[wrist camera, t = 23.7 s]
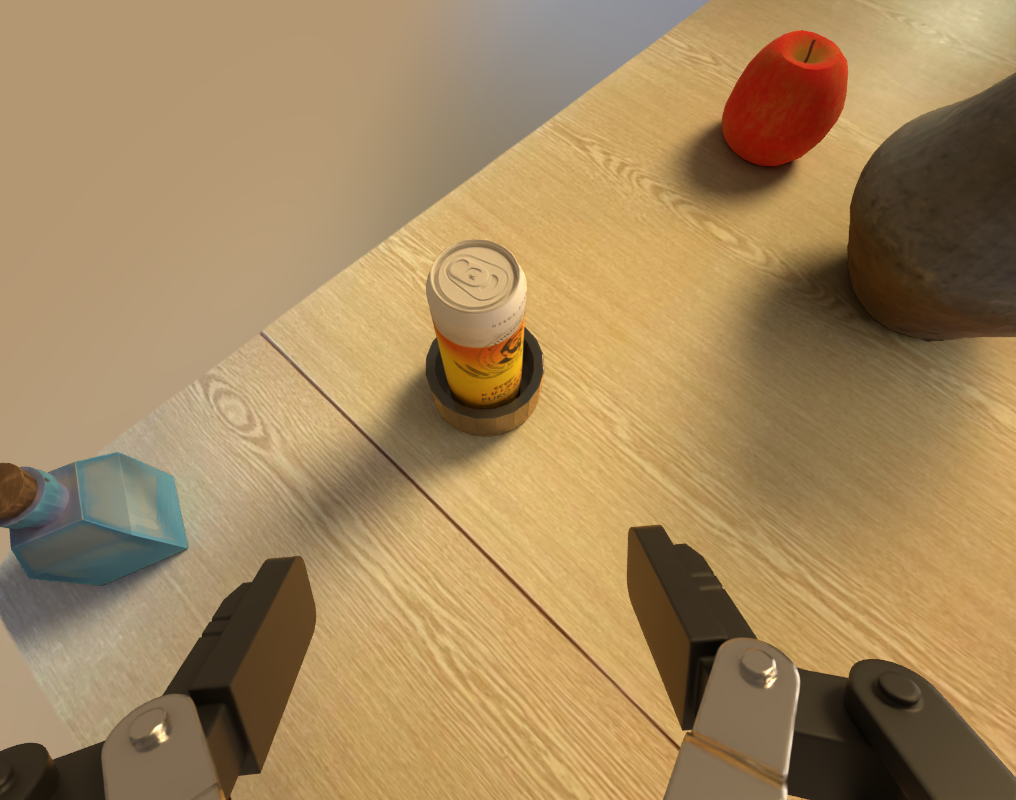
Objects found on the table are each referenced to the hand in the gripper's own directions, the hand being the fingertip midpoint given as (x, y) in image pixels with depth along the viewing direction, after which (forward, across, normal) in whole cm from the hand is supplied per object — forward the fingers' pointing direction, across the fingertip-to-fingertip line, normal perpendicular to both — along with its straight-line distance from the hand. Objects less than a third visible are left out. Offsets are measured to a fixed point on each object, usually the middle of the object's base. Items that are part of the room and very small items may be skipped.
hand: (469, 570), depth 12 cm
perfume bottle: (+24, +27, +13) cm, 38 cm away
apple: (+51, -34, -13) cm, 62 cm away
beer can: (+31, -1, +6) cm, 31 cm away
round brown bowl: (+31, -1, +6) cm, 32 cm away
